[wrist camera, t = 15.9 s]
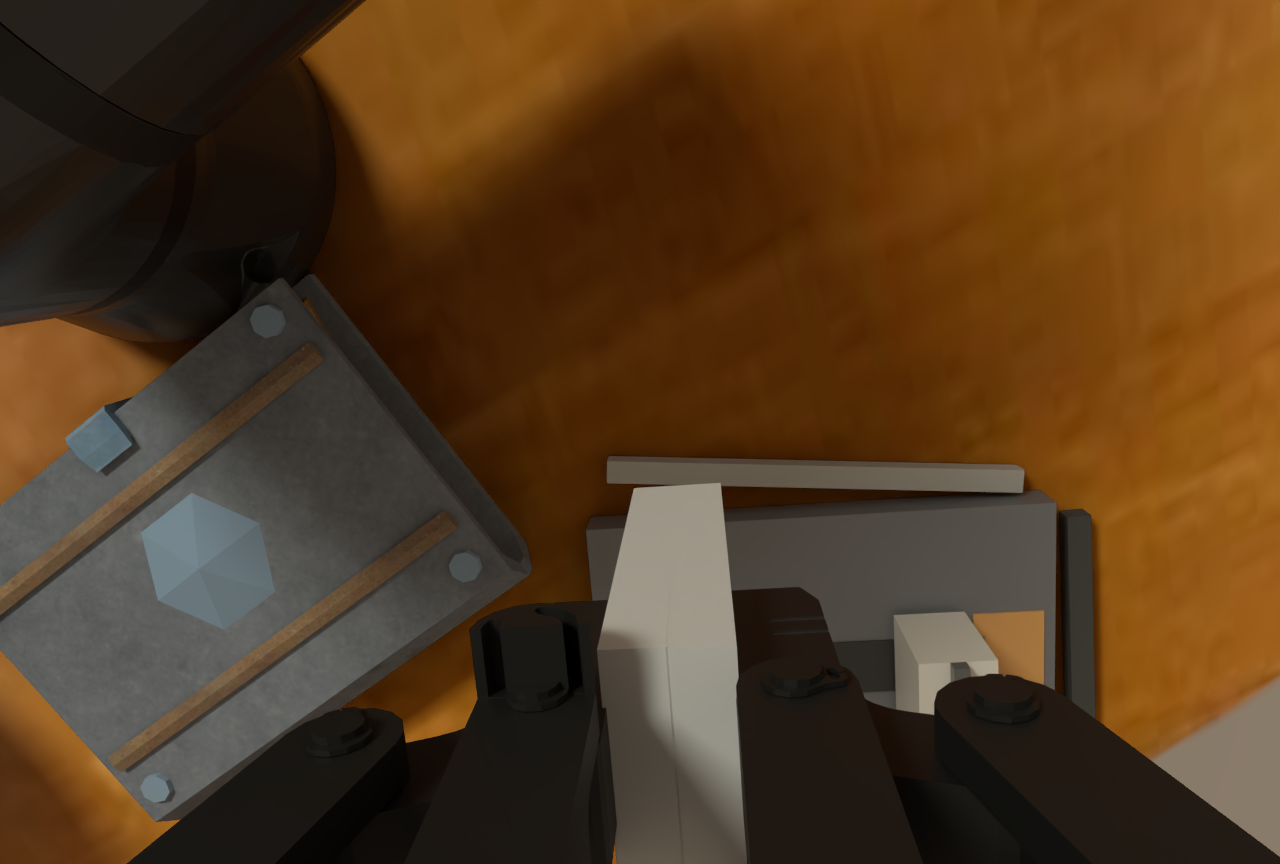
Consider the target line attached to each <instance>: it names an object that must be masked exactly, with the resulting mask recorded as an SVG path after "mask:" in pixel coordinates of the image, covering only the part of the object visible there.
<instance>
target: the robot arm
mask: <svg viewBox="0 0 1280 864" xmlns="http://www.w3.org/2000/svg"><path fill="white" fill-rule="evenodd" d="M365 1H366V0H0V327H2V326H8V325H15V324H21V323H27V322H34V321H40V320H46V319H52V318H57V319H60V320H63V321H66V322H69V323H71V324H74V325H77V326H80V327H83V328H86V329H89V330H91V331H94V332H97V333H100V334H103V335H107V336H110V337H114V338H119V339H124V340H130V341H138V342H155V343H165V342H179V341H187V340H192V339H197V338H201V337H206V336H209V335H210V334H211V333H212V332H214V331H215V330H216V329H217V328H219V327H220V326H221V325H222V324H223V323H225V322H226V321H227V320H228V319H230V318H231V317H232V316H233V315H234V314H236V313H237V312H238V311H239V310H241V309H242V308H243V307H244V306H245V305H247V304H248V303H249V302H250V301H252V300H253V299H254V298H255V297H256V296H258V295H259V294H260V293H261V292H263V291H264V290H265V289H266V288H268V287H269V286H270V285H271V284H272V283H274V282H275V281H276V280H277V279H279V278H284V280H285V281H286V282H287V283H288V285H289V286H290V287H291V288H292V287H294V286H295V285H296V284H297V283H299V282H300V280H301V279H302V278H303V276H304V275H305V274H306V272H307V271H308V269H309V268H310V266H311V264H312V263H313V261H314V259H315V257H316V255H317V254H318V252H319V249H320V247H321V245H322V243H323V240H324V237H325V235H326V232H327V229H328V225H329V222H330V218H331V214H332V208H333V203H334V195H335V182H336V167H335V153H334V145H333V140H332V134H331V130H330V126H329V122H328V118H327V115H326V112H325V109H324V106H323V103H322V101H321V98H320V96H319V93H318V91H317V89H316V87H315V85H314V83H313V81H312V79H311V77H310V76H309V74H308V72H307V70H306V68H305V67H304V65H303V64H302V62H301V61H300V59H299V57H300V56H301V55H303V54H304V53H305V52H306V51H307V50H308V49H310V48H311V47H312V46H313V45H314V44H315V43H317V42H318V41H319V40H320V39H321V38H322V37H324V36H325V35H326V34H327V33H328V32H330V31H331V30H332V29H333V28H334V27H335V26H337V25H338V24H339V23H340V22H341V21H342V20H344V19H345V18H346V17H347V16H348V15H349V14H351V13H352V12H353V11H354V10H355V9H356V8H358V7H359V6H360V5H361V4H362V3H363V2H365ZM469 631H470V639H471V647H472V656H473V664H474V672H475V680H476V688H477V697H478V700H477V702H476V704H475V706H474V709H473V711H472V713H471V715H470V717H469V720H468V722H467V724H466V726H465V728H463V729H461V730H458V731H455V732H452V733H448V734H444V735H441V736H437V737H432V738H427V739H423V740H418V741H413V742H409V743H406V742H405V735H404V728H403V721H402V719H400V718H399V717H398V716H396V715H395V714H394V713H392V712H389V711H384V710H380V709H375V708H367V709H358V708H356V707H351V708H343V709H342V711H339V709H338V710H334V711H330V712H327V713H325V714H323V715H322V716H321V717H318V718H315V719H313V720H310V721H308V722H305V723H303V724H302V725H300V726H299V727H297V728H295V729H294V730H292V731H290V732H289V733H287V734H286V735H285V736H283V737H282V738H281V739H280V740H279V741H277V742H276V743H275V744H274V745H272V746H271V747H270V748H269V749H267V750H266V751H265V752H264V753H262V754H261V755H260V756H259V757H258V758H256V759H255V760H254V761H253V762H251V763H250V764H249V765H248V766H246V767H245V768H244V769H243V770H242V771H240V772H239V773H238V774H237V775H235V776H234V777H233V778H232V779H230V780H229V781H228V782H227V783H226V784H224V785H223V786H222V787H221V788H219V789H218V790H217V791H216V792H214V793H213V794H212V795H211V796H210V797H208V798H207V799H206V800H205V801H203V802H202V803H201V804H200V805H198V806H197V807H196V808H195V809H194V810H192V811H191V812H190V813H189V814H187V815H186V816H185V817H184V818H182V819H181V820H180V821H179V822H178V823H176V824H175V825H174V826H173V827H171V828H170V829H169V830H168V831H166V832H165V833H164V834H163V835H162V836H160V837H159V838H158V839H157V840H155V841H154V842H153V843H152V844H150V845H149V846H148V847H147V848H146V849H144V850H143V851H142V852H141V853H139V854H138V855H137V856H136V857H134V858H133V859H132V860H131V861H130V862H128V863H127V864H612V859H613V852H614V844H615V849H616V859H617V864H1280V857H1279V856H1278V855H1276V854H1275V853H1274V852H1272V851H1271V850H1270V849H1268V848H1267V847H1266V846H1264V845H1263V844H1262V843H1260V842H1259V841H1257V840H1256V839H1255V838H1254V837H1252V836H1251V835H1250V834H1248V833H1247V832H1246V831H1244V830H1243V829H1242V828H1240V827H1239V826H1238V825H1236V824H1235V823H1234V822H1232V821H1231V820H1230V819H1228V818H1227V817H1226V816H1224V815H1223V814H1222V813H1220V812H1219V811H1218V810H1216V809H1215V808H1214V807H1212V806H1211V805H1209V804H1208V803H1207V802H1206V801H1204V800H1203V799H1201V798H1200V797H1199V796H1198V795H1196V794H1195V793H1194V792H1192V791H1191V790H1189V789H1188V788H1187V787H1185V786H1184V785H1183V784H1182V783H1180V782H1179V781H1177V780H1176V779H1175V778H1174V777H1172V776H1171V775H1170V774H1168V773H1167V772H1166V771H1164V770H1163V769H1161V768H1160V767H1159V766H1158V765H1156V764H1155V763H1154V762H1152V761H1151V760H1149V759H1148V758H1147V757H1145V756H1144V755H1143V754H1141V753H1140V752H1139V751H1137V750H1136V749H1135V748H1133V747H1132V746H1131V745H1129V744H1128V743H1127V742H1125V741H1124V740H1123V739H1121V738H1120V737H1119V736H1117V735H1116V734H1115V733H1113V732H1112V731H1111V730H1109V729H1108V728H1107V727H1105V726H1104V725H1103V724H1101V723H1100V722H1099V721H1097V720H1096V719H1095V718H1093V717H1092V716H1091V715H1089V714H1088V713H1087V712H1085V711H1084V710H1083V709H1081V708H1080V707H1079V706H1077V705H1076V704H1075V703H1073V702H1072V701H1071V700H1069V699H1068V698H1067V697H1065V696H1064V695H1062V694H1061V693H1059V692H1057V691H1055V690H1053V689H1051V688H1049V687H1047V686H1046V685H1043V684H1040V683H1036V682H1033V681H1029V680H1026V679H1023V678H1022V677H1019V676H1014V675H1007V674H1006V676H1003V674H986V675H985V676H974V677H967V678H963V679H960V680H957V681H953V682H950V683H948V684H947V685H946V686H944V687H943V688H941V689H940V690H939V691H937V694H936V698H935V702H934V715H932V714H924V713H916V712H908V711H903V710H897V709H892V708H888V707H885V706H881V705H878V704H875V703H872V702H870V701H868V700H866V699H865V697H864V694H863V691H862V689H861V686H860V683H859V680H858V679H857V678H856V676H855V675H854V674H853V673H852V671H851V670H849V669H847V668H845V667H843V666H841V665H840V663H839V660H838V657H837V654H836V651H835V648H834V644H833V641H832V638H831V635H830V632H829V631H828V626H827V623H826V620H825V619H824V614H823V611H822V608H821V605H820V602H819V600H818V599H817V598H815V597H814V596H812V595H811V594H809V593H808V592H807V591H805V590H804V589H802V588H801V587H787V588H768V589H749V590H731V583H730V573H729V563H728V552H727V542H726V532H725V522H724V512H723V502H722V492H721V483H709V484H693V485H677V486H661V487H644V488H634V490H633V494H632V499H631V503H630V508H629V512H628V516H627V521H626V525H625V529H624V534H623V538H622V543H621V547H620V551H619V556H618V560H617V565H616V569H615V573H614V578H613V582H612V586H611V591H610V595H609V600H595V601H577V602H558V603H554V604H551V603H536V604H528V605H520V606H514V607H511V608H507V609H504V610H500V611H497V612H494V613H492V614H490V615H488V616H486V617H484V618H482V619H480V620H478V621H477V622H476V623H475V624H474V625H473V626H472V627H471V628H470V629H469Z"/></svg>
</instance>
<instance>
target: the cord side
mask: <svg viewBox="0 0 1280 864" xmlns="http://www.w3.org/2000/svg"><path fill="white" fill-rule="evenodd" d="M1059 526H1060V563H1061V600H1062V637H1063V673H1064V696H1065V697H1067V698H1068V699H1069V700H1071V701H1072V702H1073V703H1075V704H1076V705H1077V706H1079V707H1080V708H1081V709H1083V710H1084V711H1085V712H1087V713H1088V714H1089V715H1091V716H1092V717H1093V718H1095V677H1094V627H1093V578H1092V529H1091V515H1090V514H1088V513H1087V512H1086V511H1084V510H1083V509H1076V510H1065V511H1059Z"/></svg>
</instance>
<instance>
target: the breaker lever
mask: <svg viewBox="0 0 1280 864" xmlns="http://www.w3.org/2000/svg"><path fill="white" fill-rule="evenodd" d="M894 648H895V686H896V709H897V710H903V711H908V712H916V713H924V714H932V715H934V702H935V698H936V694H937V691H939V690H940V689H941V688H943V687H944V686H946V685H947V684H948V683H950V682H953V681H957V680H960V679H963V678H967V677H974V676H985V675H986V674H998V659H997V658H996V656H995V655H994V653H993V652H992V651H991V649H990V648H989V646H988V645H987V643H986V642H985V640H984V639H983V638H982V636H981V635H980V633H979V632H978V630H977V629H976V627H975V626H974V625H973V623H972V622H971V620H970V619H969V617H968V616H967V614H966V613H965V612H944V613H925V614H905V615H894Z"/></svg>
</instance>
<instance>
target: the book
mask: <svg viewBox="0 0 1280 864" xmlns="http://www.w3.org/2000/svg"><path fill="white" fill-rule="evenodd" d="M66 443H67V445H68V446H69V447H70V449H69V450H68V451H67V452H65V453H64V454H63V455H62V456H60V457H59V458H58V459H57V460H56V461H54V462H53V463H52V464H51V465H49V466H48V467H47V468H46V469H45V470H43V471H42V472H41V473H40V474H38V475H37V476H36V477H35V478H33V479H32V480H31V481H30V482H29V483H27V484H26V485H25V486H24V487H22V488H21V489H20V490H19V491H18V492H16V493H15V494H14V495H13V496H11V497H10V498H9V499H8V500H7V501H5V502H4V503H3V504H2V505H0V650H1V651H2V652H3V653H4V654H5V656H6V657H7V658H8V659H9V660H10V661H11V662H12V663H13V664H14V666H15V667H16V668H17V669H18V670H19V671H20V672H21V673H22V674H23V676H24V677H25V678H26V679H27V680H28V681H29V682H30V683H31V684H32V685H33V687H34V688H35V689H36V690H37V691H38V692H39V693H40V694H41V695H42V697H43V698H44V699H45V700H46V701H47V702H48V703H49V704H50V705H51V707H52V708H53V709H54V710H55V711H56V712H57V713H58V714H59V715H60V716H61V718H62V719H63V720H64V721H65V722H66V723H67V724H68V725H69V726H70V728H71V729H72V730H73V731H74V732H75V733H76V734H77V735H78V736H79V738H80V739H81V740H82V741H83V742H84V743H85V744H86V745H87V746H88V747H89V749H90V750H91V751H92V752H93V753H94V754H95V755H96V756H97V757H98V759H99V760H100V761H101V762H102V763H103V764H104V765H105V766H106V767H107V769H108V770H109V771H110V772H111V773H112V774H113V775H114V776H115V777H116V778H117V780H118V781H119V782H120V783H121V784H122V785H123V786H124V787H125V788H126V790H127V791H128V792H129V793H130V794H131V795H132V796H133V797H134V798H135V800H136V801H137V802H138V803H139V804H140V805H141V806H142V807H143V808H144V810H145V811H146V812H147V813H148V814H149V815H150V816H151V817H152V818H153V819H154V821H155V822H161V821H171V820H180V819H182V818H184V817H185V816H186V815H187V814H189V813H190V812H191V811H192V810H194V809H195V808H196V807H197V806H198V805H200V804H201V803H202V802H203V801H205V800H206V799H207V798H208V797H210V796H211V795H212V794H213V793H214V792H216V791H217V790H218V789H219V788H221V787H222V786H223V785H224V784H226V783H227V782H228V781H229V780H230V779H232V778H233V777H234V776H235V775H237V774H238V773H239V772H240V771H242V770H243V769H244V768H245V767H246V766H248V765H249V764H250V763H251V762H253V761H254V760H255V759H256V758H258V757H259V756H260V755H261V754H262V753H264V752H265V751H266V750H267V749H269V748H270V747H271V746H272V745H274V744H275V743H276V742H277V741H279V740H280V739H281V738H282V737H283V736H285V735H286V734H287V733H289V732H290V731H292V730H294V729H295V728H297V727H299V726H300V725H302V724H303V723H305V722H308V721H310V720H313V719H315V718H318V717H321V716H322V715H323V714H325V713H327V712H330V711H334V710H338V709H340V708H341V707H343V706H344V705H346V704H347V703H349V702H350V701H351V700H353V699H354V698H356V697H357V696H359V695H360V694H361V693H363V692H364V691H366V690H367V689H368V688H370V687H371V686H373V685H374V684H376V683H377V682H378V681H380V680H381V679H383V678H384V677H385V676H387V675H388V674H390V673H391V672H393V671H394V670H395V669H397V668H398V667H400V666H401V665H402V664H404V663H405V662H407V661H408V660H410V659H411V658H412V657H414V656H415V655H417V654H418V653H419V652H421V651H422V650H424V649H425V648H427V647H428V646H429V645H431V644H432V643H434V642H435V641H436V640H438V639H439V638H441V637H442V636H444V635H445V634H446V633H448V632H449V631H451V630H452V629H453V628H455V627H456V626H458V625H459V624H461V623H462V622H463V621H465V620H466V619H468V618H469V617H470V616H472V615H473V614H475V613H476V612H478V611H479V610H480V609H482V608H483V607H485V606H486V605H488V604H489V603H490V602H492V601H493V600H495V599H496V598H497V597H499V596H500V595H502V594H503V593H505V592H506V591H507V590H509V589H510V588H512V587H513V586H514V585H516V584H517V583H519V582H520V581H522V580H523V579H524V578H526V577H527V576H529V575H530V573H531V570H532V568H533V567H532V563H531V559H530V555H529V551H528V547H527V543H526V541H525V540H524V539H523V537H522V536H521V535H520V533H519V532H518V531H517V530H516V528H515V527H514V526H513V525H512V523H511V522H510V521H509V520H508V518H507V517H506V516H505V515H504V513H503V512H502V511H501V509H500V508H499V507H498V506H497V504H496V503H495V502H494V501H493V499H492V498H491V497H490V496H489V494H488V493H487V492H486V490H485V489H484V488H483V487H482V485H481V484H480V483H479V482H478V480H477V479H476V478H475V477H474V475H473V474H472V473H471V472H470V470H469V469H468V468H467V466H466V465H465V464H464V463H463V461H462V460H461V459H460V458H459V456H458V455H457V454H456V453H455V451H454V450H453V449H452V448H451V446H450V445H449V444H448V442H447V441H446V440H445V439H444V437H443V436H442V435H441V434H440V432H439V431H438V430H437V429H436V427H435V426H434V425H433V424H432V422H431V421H430V420H429V418H428V417H427V416H426V415H425V413H424V412H423V411H422V410H421V408H420V407H419V406H418V405H417V403H416V402H415V401H414V399H413V398H412V397H411V396H410V394H409V393H408V392H407V391H406V389H405V388H404V387H403V386H402V384H401V383H400V382H399V381H398V379H397V378H396V377H395V375H394V374H393V373H392V372H391V370H390V369H389V368H388V367H387V365H386V364H385V363H384V362H383V360H382V359H381V358H380V357H379V355H378V354H377V353H376V351H375V350H374V349H373V348H372V346H371V345H370V344H369V343H368V341H367V340H366V339H365V338H364V336H363V335H362V334H361V332H360V331H359V330H358V329H357V327H356V326H355V325H354V324H353V322H352V321H351V320H350V319H349V317H348V316H347V315H346V314H345V312H344V311H343V310H342V308H341V307H340V306H339V305H338V303H337V302H336V301H335V300H334V298H333V297H332V296H331V295H330V293H329V292H328V291H327V290H326V288H325V287H324V286H323V284H322V283H321V282H320V281H319V279H318V278H317V277H316V276H315V274H308V275H307V276H306V277H305V278H304V279H302V280H301V281H300V282H299V283H297V284H296V285H295V286H294V287H292V288H291V287H290V286H289V285H288V283H287V282H286V281H285V280H284V278H279V279H277V280H276V281H275V282H274V283H272V284H271V285H270V286H269V287H268V288H266V289H265V290H264V291H263V292H261V293H260V294H259V295H258V296H256V297H255V298H254V299H253V300H252V301H250V302H249V303H248V304H247V305H245V306H244V307H243V308H242V309H241V310H239V311H238V312H237V313H236V314H234V315H233V316H232V317H231V318H230V319H228V320H227V321H226V322H225V323H223V324H222V325H221V326H220V327H219V328H217V329H216V330H215V331H214V332H212V333H211V334H210V335H209V336H207V337H206V338H205V339H204V340H203V341H201V342H200V343H199V344H198V345H196V346H195V347H194V348H193V349H192V350H190V351H189V352H188V353H187V354H185V355H184V356H183V357H182V358H181V359H179V360H178V361H177V362H176V363H174V364H173V365H172V366H171V367H169V368H168V369H167V370H166V371H165V372H163V373H162V374H161V375H160V376H158V377H157V378H156V379H155V380H154V381H152V382H151V383H150V384H149V385H147V386H146V387H145V388H144V389H143V390H141V391H140V392H139V393H138V394H136V395H135V396H134V397H131V398H128V399H125V400H122V401H118V402H115V403H112V404H109V405H105V406H103V407H102V408H101V409H100V410H99V411H97V412H96V413H95V414H94V415H92V416H91V417H90V418H89V419H88V420H86V421H85V422H84V423H83V424H82V425H80V426H79V427H78V428H77V429H75V430H74V431H73V432H72V433H71V434H69V435H68V436H67V437H66Z"/></svg>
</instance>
